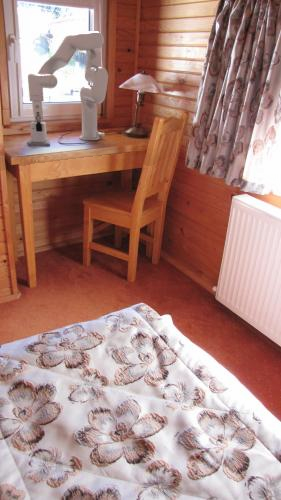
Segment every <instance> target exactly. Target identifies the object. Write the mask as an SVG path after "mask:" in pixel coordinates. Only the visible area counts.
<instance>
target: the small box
mask: <svg viewBox="0 0 281 500" xmlns="http://www.w3.org/2000/svg"><path fill="white" fill-rule="evenodd" d="M41 124H42V131H39V132H37V131H36V122H35V121H31V122H29V130H30V139H31V142H46V141H47V139H48V136H47V122H45V121H41Z"/></svg>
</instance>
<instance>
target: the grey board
mask: <svg viewBox="0 0 281 500" xmlns="http://www.w3.org/2000/svg"><path fill="white" fill-rule="evenodd" d="M27 143H28V145H27V146H28V147H51V141H50V139H49V138H47V141H46V142H31V138H28V139H27Z"/></svg>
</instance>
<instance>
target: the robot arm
mask: <svg viewBox="0 0 281 500" xmlns="http://www.w3.org/2000/svg"><path fill="white" fill-rule="evenodd" d="M104 43H105V38H104V36H103V34H102V33H101V32H99V31H90V30H89V31H83V32H82V33H80V32H78V33H77V32H76V33H75V32H69V33H68V34H67V35H65V37H64V38H63V40H62V42H61V43H60V45H59V47H58V48H57V50H56V51H55V52H54V54H53V55H52V56H50V58H49V59H47V61H45V62H44V63H43V65H42V66H41V67H40V69H39V70H38V72H37V73H29V74H28V75H27V83H28V84H27V85H28V93H29V94H28V96H29V101H30V102H32V103H31V104H32V114H33V119H34V122H36V131H37V132H39V131H42V124H41V122H42V121H43V120H44V111H43V109H44V108H43V102H44V99H45V98H44V89H54V88H56V87H57V85H58V78H57V77H56V76H55V75H54V74H55V73H56V71H58V70H60V69H62V68H64V67H66V66H68V64H69V63H70V61H71V59H72V58H73V57H74V56H75V54H76V52H77V51H78V52H79V51H80V52H81V51H85V53H86V63H85V71H84V78H85V81H87V82H88V83H91V84H86V85H83V86H82V87H81V88H80V91H79V96H80V105H81V135H79V139H80V140H84V141H97V140H100V136H101V137H105V132H99V131H98V106H97V105H98V104H102V103H103V102H104V101H105V98H106V94H107V91H108V90H107V88H108V81H109V75H108V71H107V69H106V68H105V67H103V66H101V65H102V52H101V50H100V49H101V48H102V47H103V45H104Z"/></svg>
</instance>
